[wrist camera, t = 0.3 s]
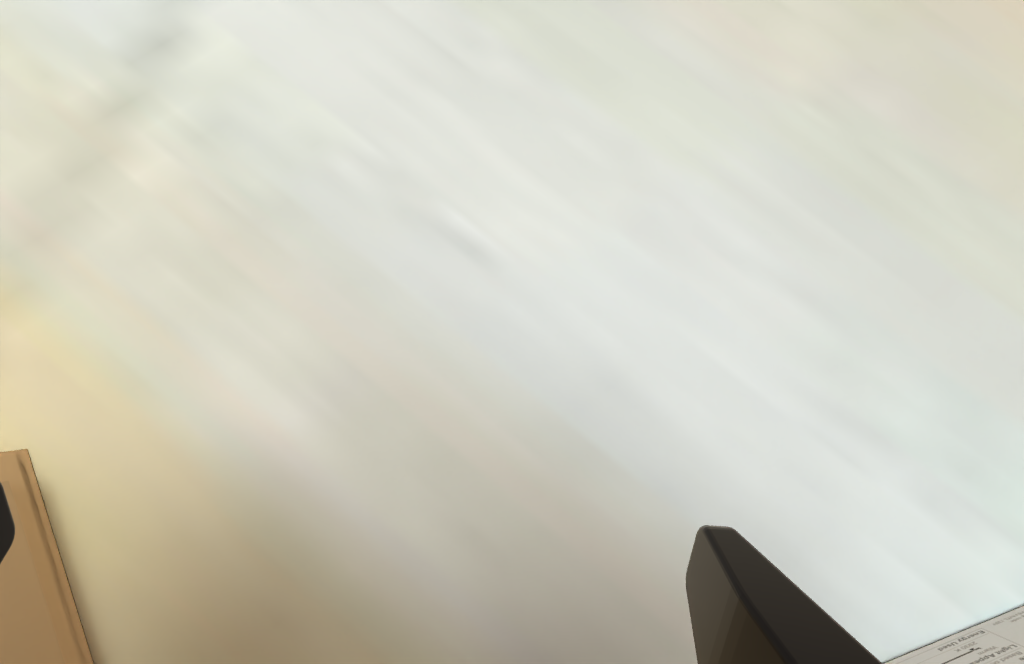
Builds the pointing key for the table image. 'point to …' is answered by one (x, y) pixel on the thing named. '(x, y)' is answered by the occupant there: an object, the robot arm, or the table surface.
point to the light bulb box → (976, 644)
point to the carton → (34, 580)
